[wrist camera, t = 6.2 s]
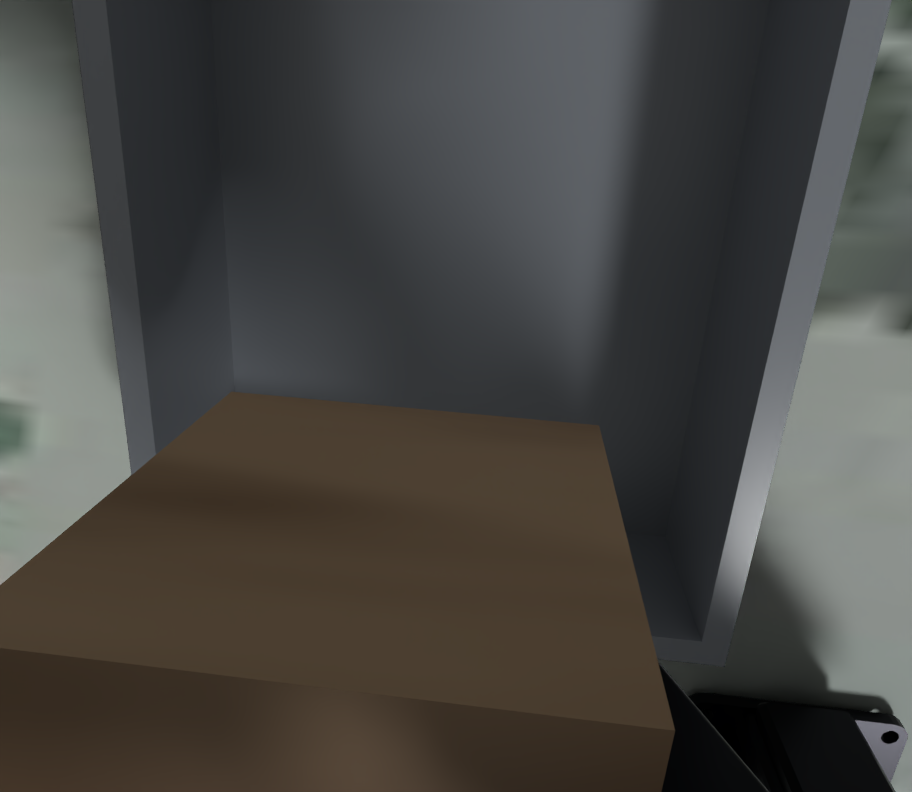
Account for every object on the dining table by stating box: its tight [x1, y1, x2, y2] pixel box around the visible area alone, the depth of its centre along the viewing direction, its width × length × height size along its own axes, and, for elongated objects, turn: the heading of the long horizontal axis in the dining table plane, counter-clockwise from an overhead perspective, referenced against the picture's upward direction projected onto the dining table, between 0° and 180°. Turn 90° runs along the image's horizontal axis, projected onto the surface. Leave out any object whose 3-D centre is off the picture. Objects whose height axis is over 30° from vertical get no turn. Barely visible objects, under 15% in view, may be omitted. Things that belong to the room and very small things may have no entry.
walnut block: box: [0, 392, 675, 792], centre depth 8 cm, size 5×5×5 cm
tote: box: [72, 0, 892, 667], centre depth 15 cm, size 17×13×5 cm
